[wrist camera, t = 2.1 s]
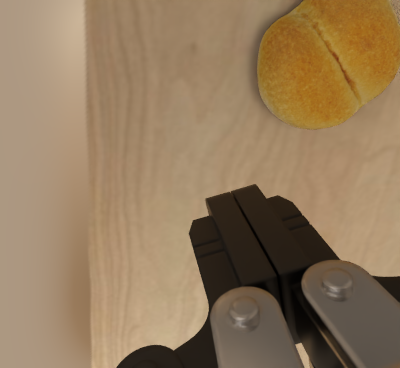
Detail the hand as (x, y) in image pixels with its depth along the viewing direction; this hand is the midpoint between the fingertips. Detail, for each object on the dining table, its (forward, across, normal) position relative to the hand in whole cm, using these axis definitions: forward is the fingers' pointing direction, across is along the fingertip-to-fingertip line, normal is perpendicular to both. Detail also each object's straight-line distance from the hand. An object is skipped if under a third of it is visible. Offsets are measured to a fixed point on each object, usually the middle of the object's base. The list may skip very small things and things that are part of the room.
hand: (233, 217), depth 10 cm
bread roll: (+14, -10, 0) cm, 17 cm away
